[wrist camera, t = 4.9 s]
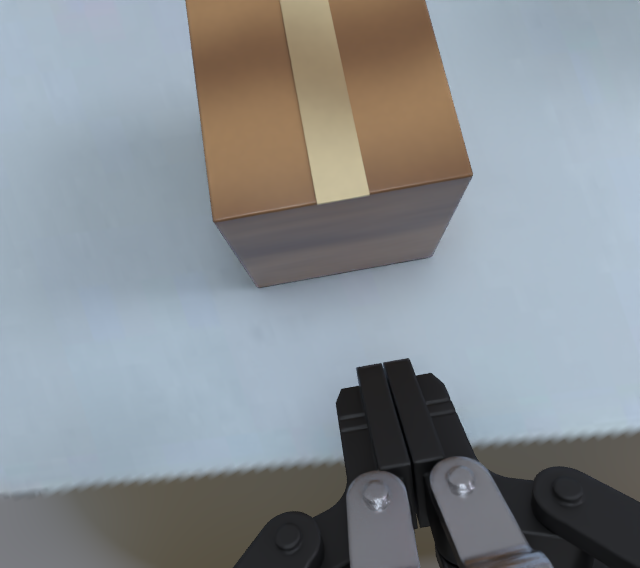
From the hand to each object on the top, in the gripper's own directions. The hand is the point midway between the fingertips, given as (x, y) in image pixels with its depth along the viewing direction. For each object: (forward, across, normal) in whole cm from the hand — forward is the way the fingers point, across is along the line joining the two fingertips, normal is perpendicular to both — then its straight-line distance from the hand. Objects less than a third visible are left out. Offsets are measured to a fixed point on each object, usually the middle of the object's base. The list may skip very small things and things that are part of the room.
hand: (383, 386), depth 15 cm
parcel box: (+12, 0, -2) cm, 13 cm away
